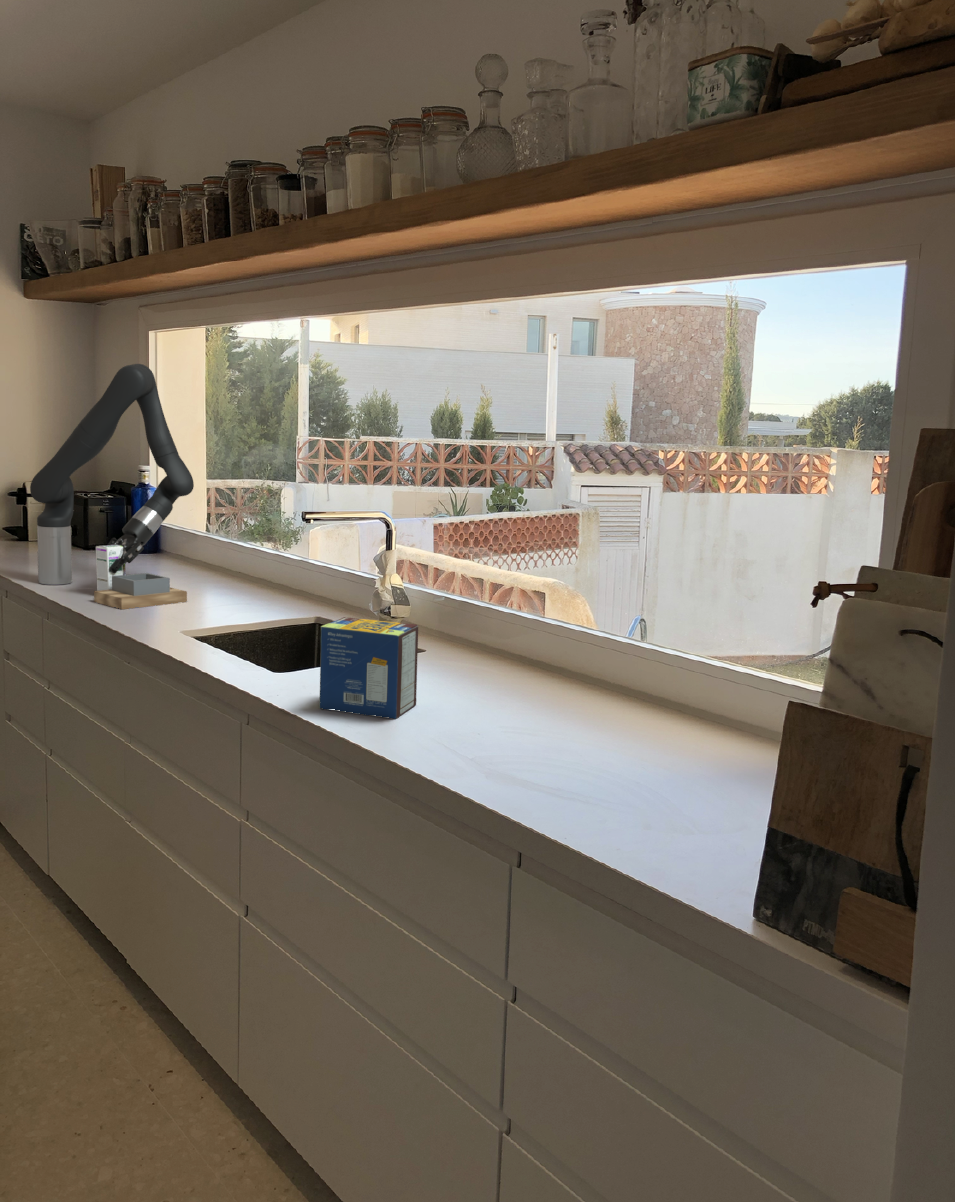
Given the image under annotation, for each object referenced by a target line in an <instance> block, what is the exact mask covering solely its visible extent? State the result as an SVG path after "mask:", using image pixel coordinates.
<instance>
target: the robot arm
mask: <svg viewBox="0 0 955 1202" xmlns="http://www.w3.org/2000/svg"><path fill="white" fill-rule="evenodd" d="M157 385H158V384H157V383H156V379H155V375H154V373H153V372H152V370H151V369H150V368H149V367H148V366H147V365H145V364H142V363H133V364H128V365H124V366H122V367H120V368H119V369H118V371H117V372H116V374H115V375H114V376H113V378H112V380H111V381H110V383H109V385H107V386H108V387H107V388H106V390H105V392H104V393H103V394H102V396H101V397H100V398H99V400H98V401H97V402H96V403H95V404H94V405H93V406H92V408H90V410H89V411H88V412H87V413H86V415H85V416H84V417H83V418H82V419H81V420H80V422H79V423H78V424H77V426H76V427H75V428H74V429H73V431H72V432H71V434H70V435H69V437H68V438H67V439H66V440H65V442H64V443H63V444H62V445H61V446H60V448H59V449H58V451H57V452H56V453H55V454H54V456H53V457H52V458H51V459H50V460H49V461H48V462H47V463H46V464H45V465H44V466H43V467H42V468H41V469H40V470H39V471H38V472H37V473H36V474H35V475H34V477H32V480H31V481H30V487H29V490H30V491H29V492H30V495H31V497H32V499H34V500H35V501H36V502H38V503H42V504H44V505H45V506H44V509H43V511H42V512H41V513H40V514H39V515H38V516H37V518H36V526H37V527H36V530H37V574H38V575H37V577H38V579H37V580H38V584H41V585H49V586H51V585H53V586H54V585H68V584H71V583H72V582H73V581H72V580H73V571H72V569H73V568H72V567H73V566H72V564H73V563H72V536H71V535H72V532H71V531H72V529H71V527H72V526H71V523H72V518H73V515H74V500H75V498H74V497H75V494H74V493H75V491H74V484H73V483H74V482H73V481H72V478H71V476H72V475H73V474H74V472H76V471H77V470H78V469H80V468H81V467H82V466H84V465H86V464H87V463H89V462H90V461H91V460H92V459H94V458H95V457H97V456H98V455H99V454H100V453H101V452H102V450H103V449H104V447H105V446H106V445H107V444H108V443H109V441H110V440H111V439H112V437H113V435H114V433H115V431H116V429H117V427H118V424H119V422H120V419H121V418H122V416H123V415H124V413H125V412H126V411H127V410H128V409H129V407H130V406H131V405H133V404H134V402H137V404H138V407H139V409H140V411H141V414H142V418H143V423H144V430H145V436H146V437H145V438H146V441H147V444H148V447H149V450H150V453H151V455H152V456H153V460H154V462H155V464H156V465H157V466H158V467H159V468H161V469H163V470H164V474H165V475H166V476H165V477H163V479H162V480H161V481H160V482H159V483H158V485H157V486H156V488H155V490H154V492H153V494H152V495H151V496H150V497H149V499H148V500H147V501H146V502H145V503H144V504H143V506H142V507H141V508H139V510H138V511H136V512H135V514H134V515H132V517H131V518H130V519H129V520H128V521H127V523H126V524H124V526H123V528H122V529H121V530H122V531H121V532H122V536H121V537H119V538H118V539H117V538H116V537H112V538H111V539H110V541H109V542H108V543H107V545H121V546H123V548H122V549H121V551H120V554H119V556H118V559H116V560H115V561H114V562H113V564H112V565H111V566H110V567H109V570H110V571H111V572H112V573H116V572H117V571H118V570H119V568H120V567H121V566H122V565H123V564H125V565H126V563H128V564H130V563H132V562H133V561H134V560H135V559H136V558H137V557H138V555H140V553H142V551H143V550H144V549H145V548H144V546H145V545H146V544H147V543H148V541H149V540H151V538H152V537H153V536H154V534H155V533H156V532H157V530H159V528H160V527H161V525H162V523H164V521H165V520H166V519H167V517H168V516H169V515H170V514H171V512H172V511H173V508H174V507H173V505H174V503H176V501H177V500H178V499H179V498H180V497H187V496H188V495H190V494H191V493H192V492H193V490H194V487H195V486H194V479H193V476H192V474H191V472H190V470H189V468H188V467H187V465H186V464H185V462H184V460H182V458H181V456H180V455H179V454H180V453H179V452H178V449H177V446H176V443H175V442H174V439H173V437H172V434H171V431H170V429H169V426H168V423H167V420H166V417H165V414H164V410H163V406H162V403H161V400H160V395H159V391H158V386H157ZM123 555H124V556H123Z"/></svg>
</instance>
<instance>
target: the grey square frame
mask: <svg viewBox="0 0 955 1202" xmlns="http://www.w3.org/2000/svg"><path fill="white" fill-rule="evenodd" d="M170 580H171V579H170V577H168V576H163V575H158V574H154V573H150V572H144V573H132V574H126V575H118V576H112V590H113V591H117V592H120V593H124V594H128V595H132V596H138V595H148V594H157V593H166V592H170V586H171V584H170V582H171V581H170Z"/></svg>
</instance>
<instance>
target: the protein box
mask: <svg viewBox="0 0 955 1202" xmlns="http://www.w3.org/2000/svg"><path fill="white" fill-rule="evenodd" d="M418 647H419V625H418V624H416V623H405V622H396V621H395V622H394V621H385V620H384V621H383V620H377V619H367V618H365V619H363V618H355V617H349V616H348V617H346V616H345V617H344V616H343V617H341V618H339V619H336V620H334V621H331V622H328V623H326V624H323V625H321V626H320V664H319V666H320V667H319V670H320V671H319V701H318V702H319V703H318V704H319V705H318V706H319V707H318V709H319V708H323V709H322V710H324V709H335V710H340V711H346V712H353V713H360V714H359V715H361V714H364V715H363V716H368V715H376V716H382V717H381V718H383V717H389V718H388V719H390V718H394V719H393V720H396V718H397V719H398V718H399V716H400V717H401V716H402V715H404V714H405V713H407V712H408V711H409V710H411V709H413V707H415V706H416V705H417V685H418V684H417V683H418V655H419V654H418V650H419V648H418ZM346 712H345V713H346ZM353 713H352V714H353ZM365 714H366V715H365Z"/></svg>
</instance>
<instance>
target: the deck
mask: <svg viewBox="0 0 955 1202" xmlns="http://www.w3.org/2000/svg"><path fill="white" fill-rule="evenodd" d="M93 591H94V592H93V596H94V598H93V602H94V603H96V602H97V604H99V605H100V604H101V605H104V606H108V607H111V608H114V607H116V608H115V609H118V608H119V609H118V610H130V609H129V608H131V609H136V608H135V607H139V608H146V607H153V606H155V605H156V606H163V604H165V605H170V604H171V603H173V604H179V603H178V602H182V603H187V602H188V591H187V590H183V589H179V588H175V587H170V592H166V593H157V594H148V595H138V596H132V595H128V594H124V593H120V592H117V591H113V590H112V589H111V590H100V591H97V590H93ZM186 601H187V602H186ZM171 605H172V604H171ZM156 606H155V607H156Z"/></svg>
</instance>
